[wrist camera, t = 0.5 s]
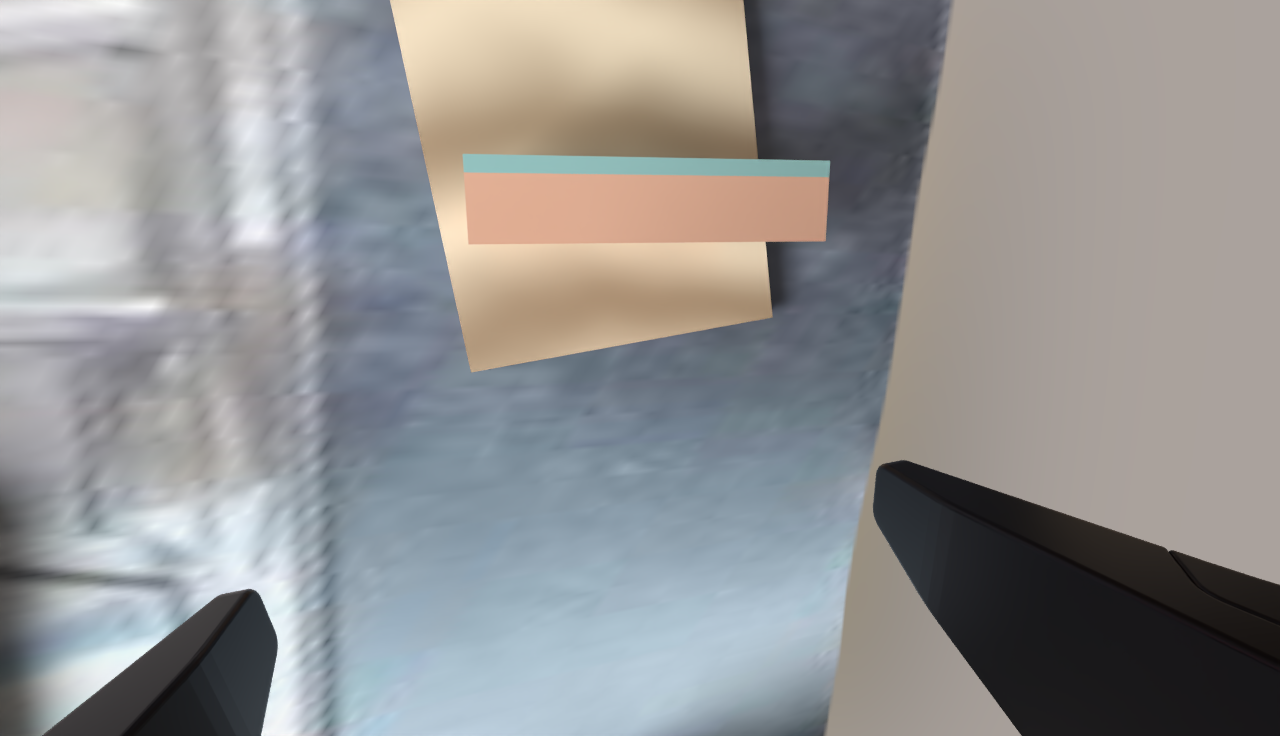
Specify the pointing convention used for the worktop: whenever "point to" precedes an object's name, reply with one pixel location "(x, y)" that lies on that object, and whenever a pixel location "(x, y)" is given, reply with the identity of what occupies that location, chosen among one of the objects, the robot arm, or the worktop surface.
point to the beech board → (582, 126)
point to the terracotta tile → (643, 199)
